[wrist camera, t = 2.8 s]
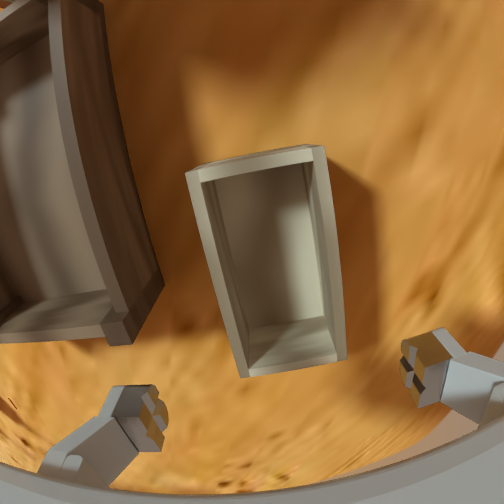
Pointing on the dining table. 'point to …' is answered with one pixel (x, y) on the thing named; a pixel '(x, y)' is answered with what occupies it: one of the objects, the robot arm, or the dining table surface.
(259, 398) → the dining table surface
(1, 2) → the cracker box
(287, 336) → the birch crate
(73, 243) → the walnut crate
